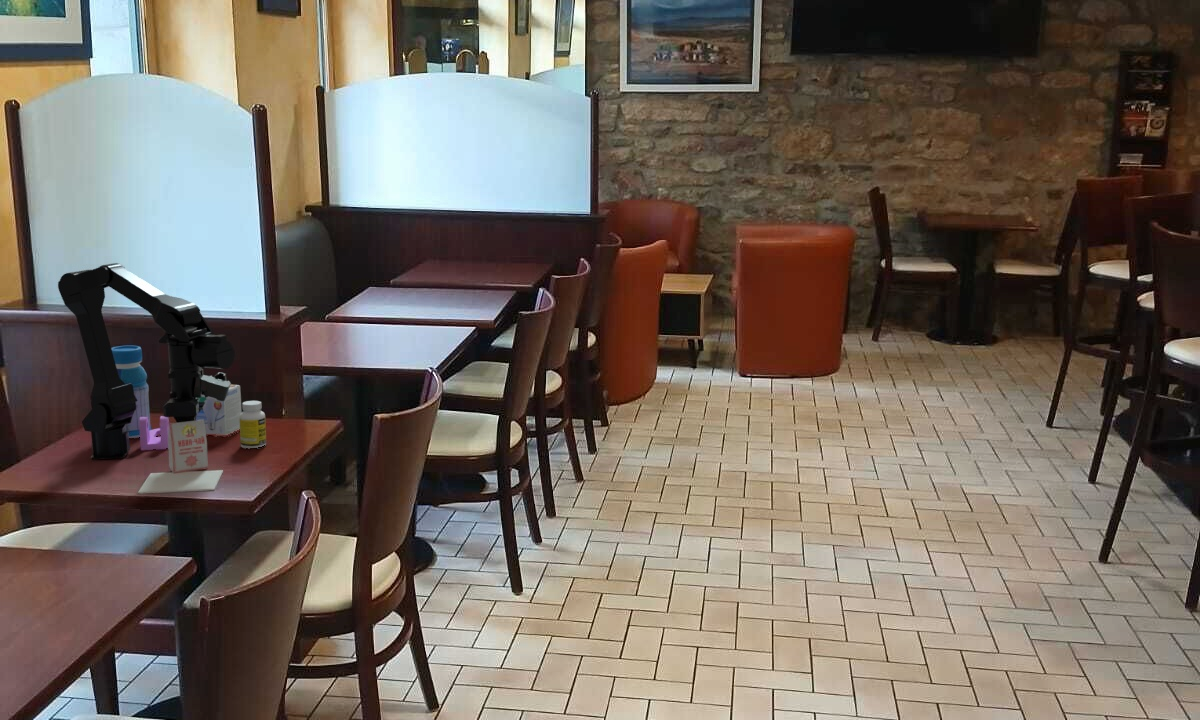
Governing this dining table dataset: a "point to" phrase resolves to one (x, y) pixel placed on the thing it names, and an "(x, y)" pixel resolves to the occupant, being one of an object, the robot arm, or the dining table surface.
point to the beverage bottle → (133, 383)
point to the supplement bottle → (252, 425)
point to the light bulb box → (221, 412)
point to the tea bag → (187, 446)
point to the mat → (181, 481)
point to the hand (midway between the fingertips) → (190, 439)
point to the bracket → (153, 434)
